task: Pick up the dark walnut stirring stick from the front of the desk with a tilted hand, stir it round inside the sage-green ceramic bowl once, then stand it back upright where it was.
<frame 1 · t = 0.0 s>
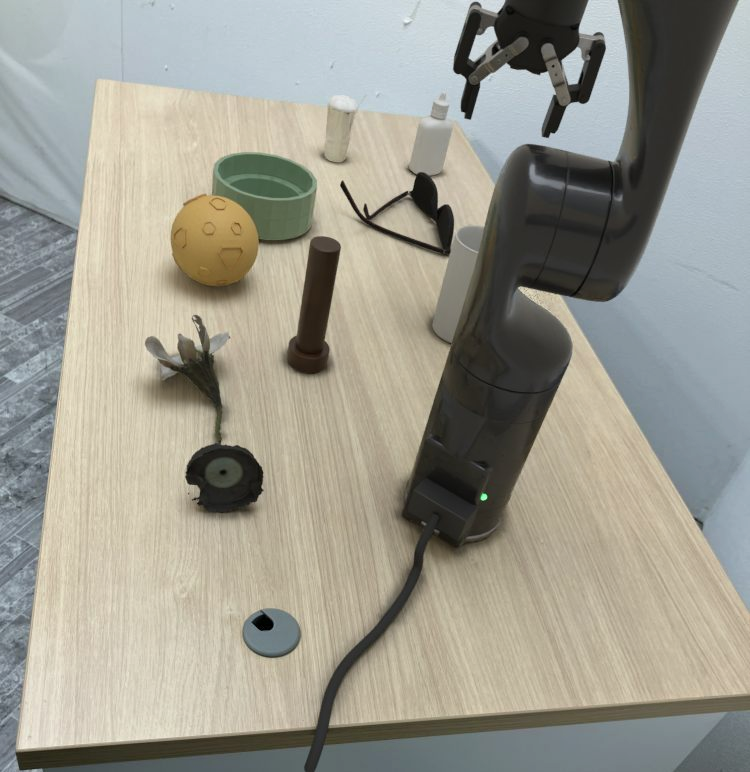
hand: (506, 125, 86), 22 cm above the table, tool pointing down, fingers open, 8 cm apart
stress ball: (212, 281, 95), on the table
artificial flower: (199, 427, 77), on the table
sunglasses: (390, 225, 114), on the table
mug: (455, 324, 99), on the table
eye dropper bottle: (424, 172, 129), on the table
milkshake: (336, 159, 126), on the table
bowl: (261, 218, 108), on the table
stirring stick: (306, 361, 88), on the table
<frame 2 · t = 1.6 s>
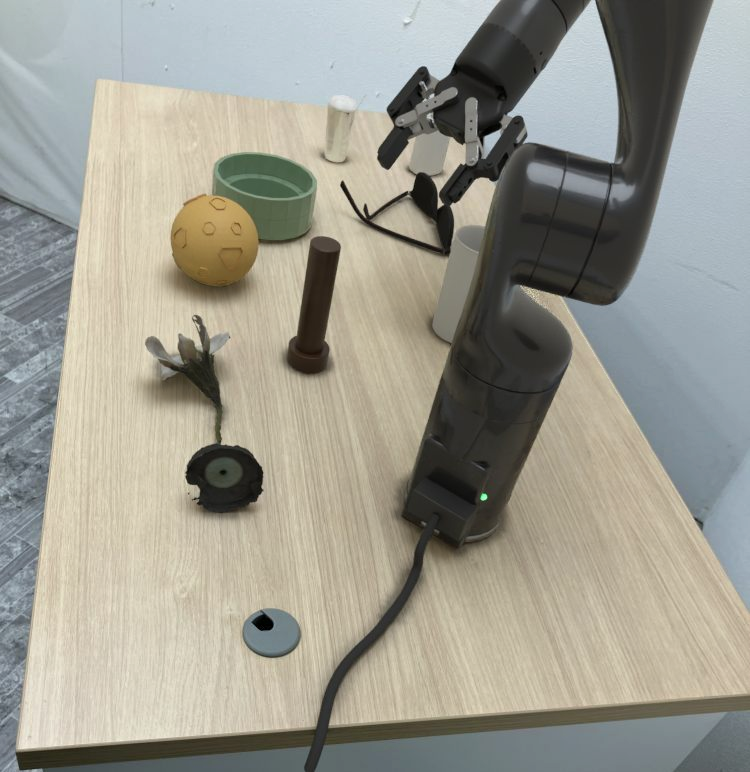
hand: (412, 182, 82), 18 cm above the table, tool tilted 45°, fingers open, 8 cm apart
nothing on the table moved.
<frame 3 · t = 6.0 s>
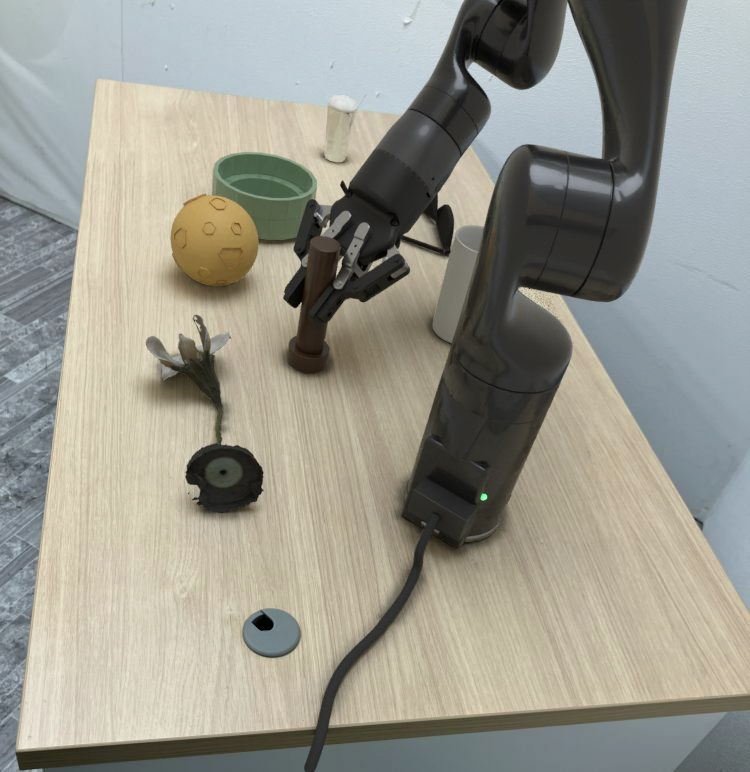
hand: (301, 312, 82), 7 cm above the table, tool tilted 45°, fingers closed on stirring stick, 3 cm apart
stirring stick: (307, 361, 88), on the table, touching gripper
everything else where it was.
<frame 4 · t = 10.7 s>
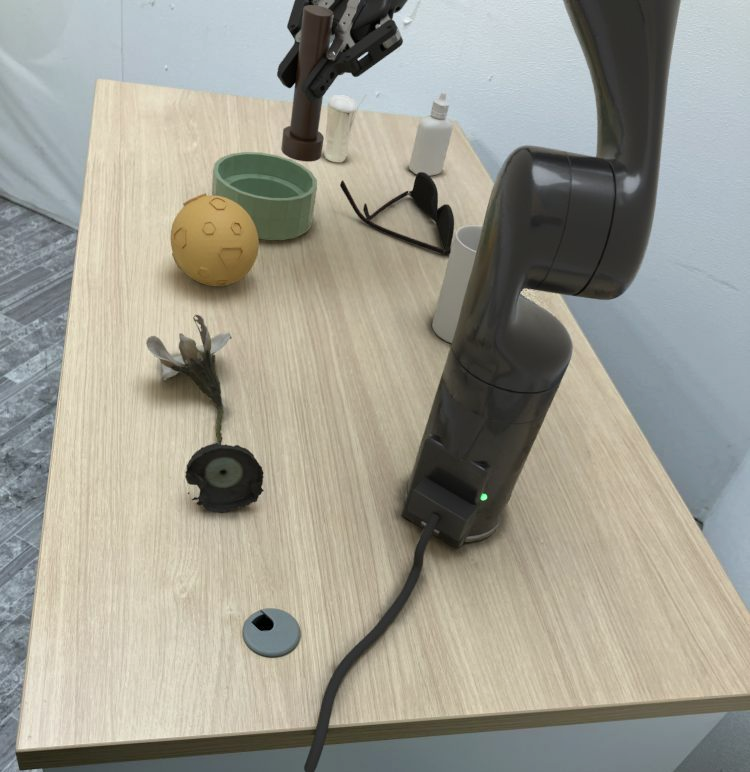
hand: (295, 88, 82), 22 cm above the table, tool tilted 45°, fingers closed on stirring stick, 3 cm apart
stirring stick: (301, 152, 88), point 15 cm above the table, touching gripper
everything else where it was.
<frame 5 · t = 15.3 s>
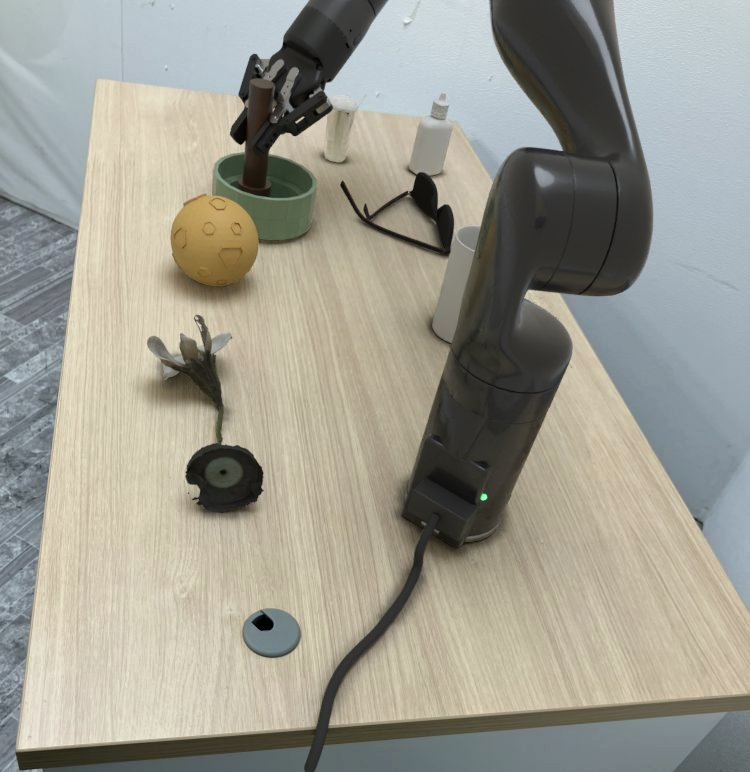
hand: (245, 145, 99), 10 cm above the table, tool tilted 45°, fingers closed on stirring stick, 3 cm apart
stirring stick: (253, 196, 105), point 3 cm above the table, touching gripper
everything else where it was.
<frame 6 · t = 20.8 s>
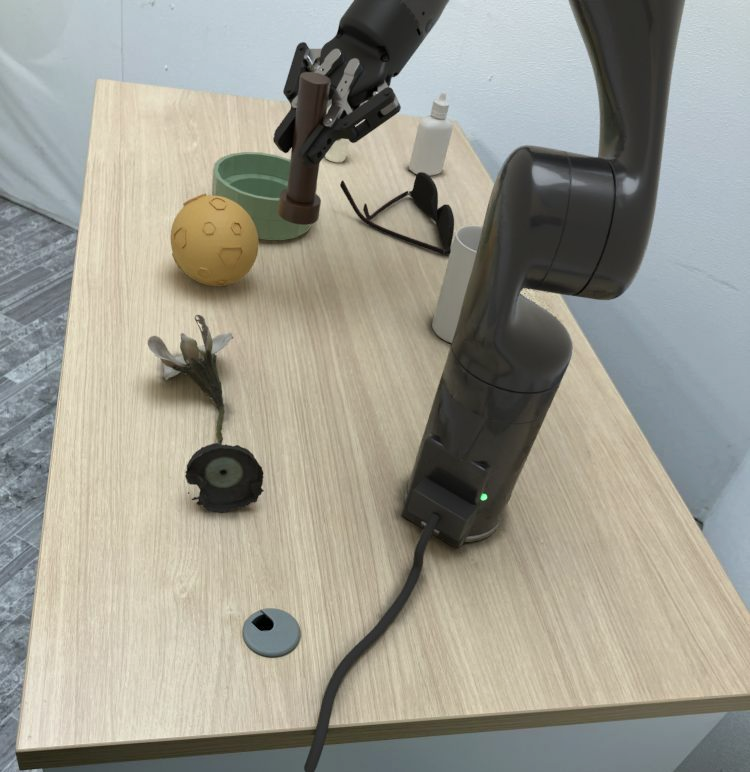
hand: (291, 154, 81), 18 cm above the table, tool tilted 45°, fingers closed on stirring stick, 3 cm apart
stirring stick: (298, 214, 87), point 11 cm above the table, touching gripper
everything else where it was.
when the fingers open (7 cm above the table, at t = 25.1 s): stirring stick stays where it is, on the table.
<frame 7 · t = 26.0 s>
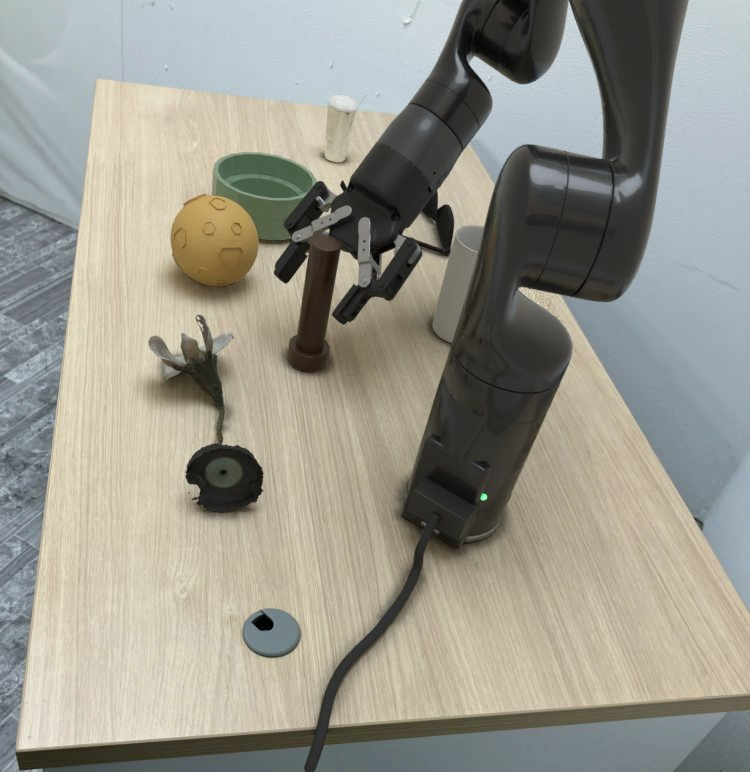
hand: (308, 299, 81), 8 cm above the table, tool tilted 45°, fingers open, 8 cm apart
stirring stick: (307, 360, 88), on the table
everything else where it was.
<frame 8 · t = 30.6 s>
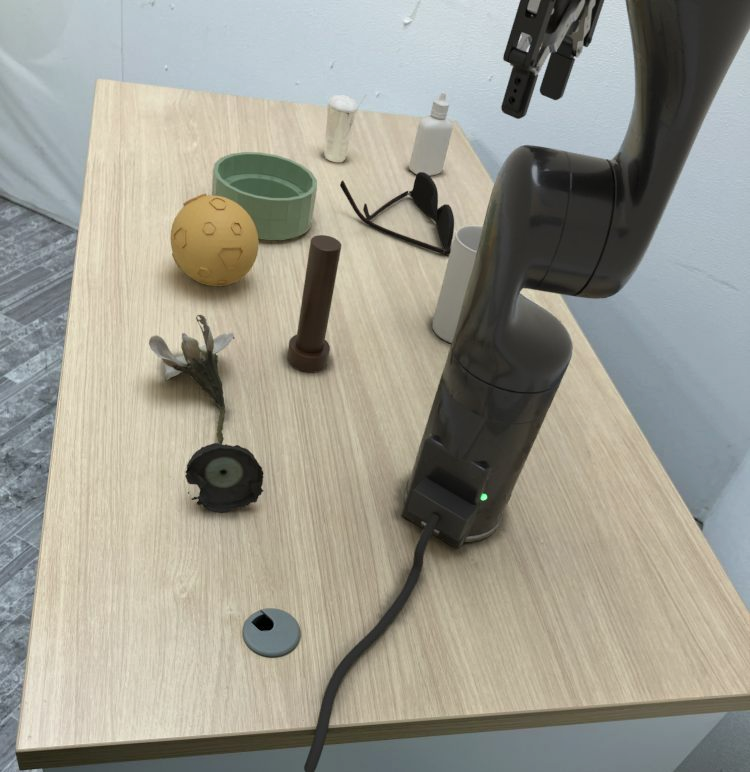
hand: (531, 105, 74), 28 cm above the table, tool pointing down, fingers open, 8 cm apart
nothing on the table moved.
at the end: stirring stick tilted 0°; the gripper is holding nothing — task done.
